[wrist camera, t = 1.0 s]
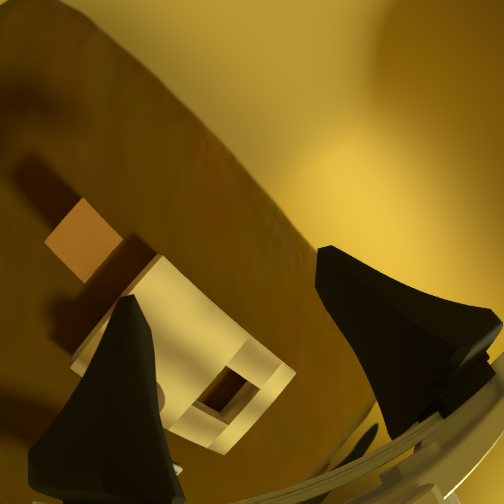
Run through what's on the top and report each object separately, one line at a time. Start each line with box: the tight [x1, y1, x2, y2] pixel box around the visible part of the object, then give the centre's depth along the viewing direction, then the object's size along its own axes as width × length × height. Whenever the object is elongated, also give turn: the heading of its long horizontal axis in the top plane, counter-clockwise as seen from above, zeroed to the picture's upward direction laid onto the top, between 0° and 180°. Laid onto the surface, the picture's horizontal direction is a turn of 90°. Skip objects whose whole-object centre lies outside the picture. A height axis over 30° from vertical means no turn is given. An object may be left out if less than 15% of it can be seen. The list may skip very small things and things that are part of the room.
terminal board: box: [70, 253, 296, 455], centre depth 22 cm, size 12×18×6 cm, turn 44°
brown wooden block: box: [45, 198, 123, 283], centre depth 18 cm, size 4×4×7 cm
